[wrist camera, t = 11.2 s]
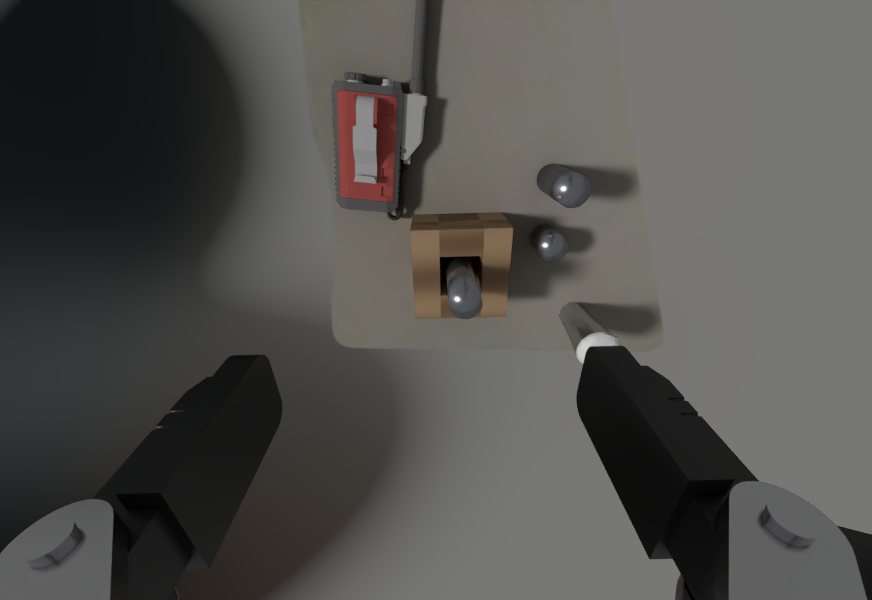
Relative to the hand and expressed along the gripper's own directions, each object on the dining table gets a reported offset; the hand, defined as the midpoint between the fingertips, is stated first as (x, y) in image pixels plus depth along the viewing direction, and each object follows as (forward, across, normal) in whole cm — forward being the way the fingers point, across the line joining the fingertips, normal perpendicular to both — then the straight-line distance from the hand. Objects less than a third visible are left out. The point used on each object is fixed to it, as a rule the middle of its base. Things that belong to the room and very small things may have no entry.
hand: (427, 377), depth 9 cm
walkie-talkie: (+33, +5, -6) cm, 34 cm away
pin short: (+32, -13, +7) cm, 35 cm away
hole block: (+32, -3, +9) cm, 33 cm away
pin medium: (+32, -13, 0) cm, 35 cm away
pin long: (+32, -3, +9) cm, 33 cm away
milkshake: (+32, -18, +17) cm, 41 cm away
